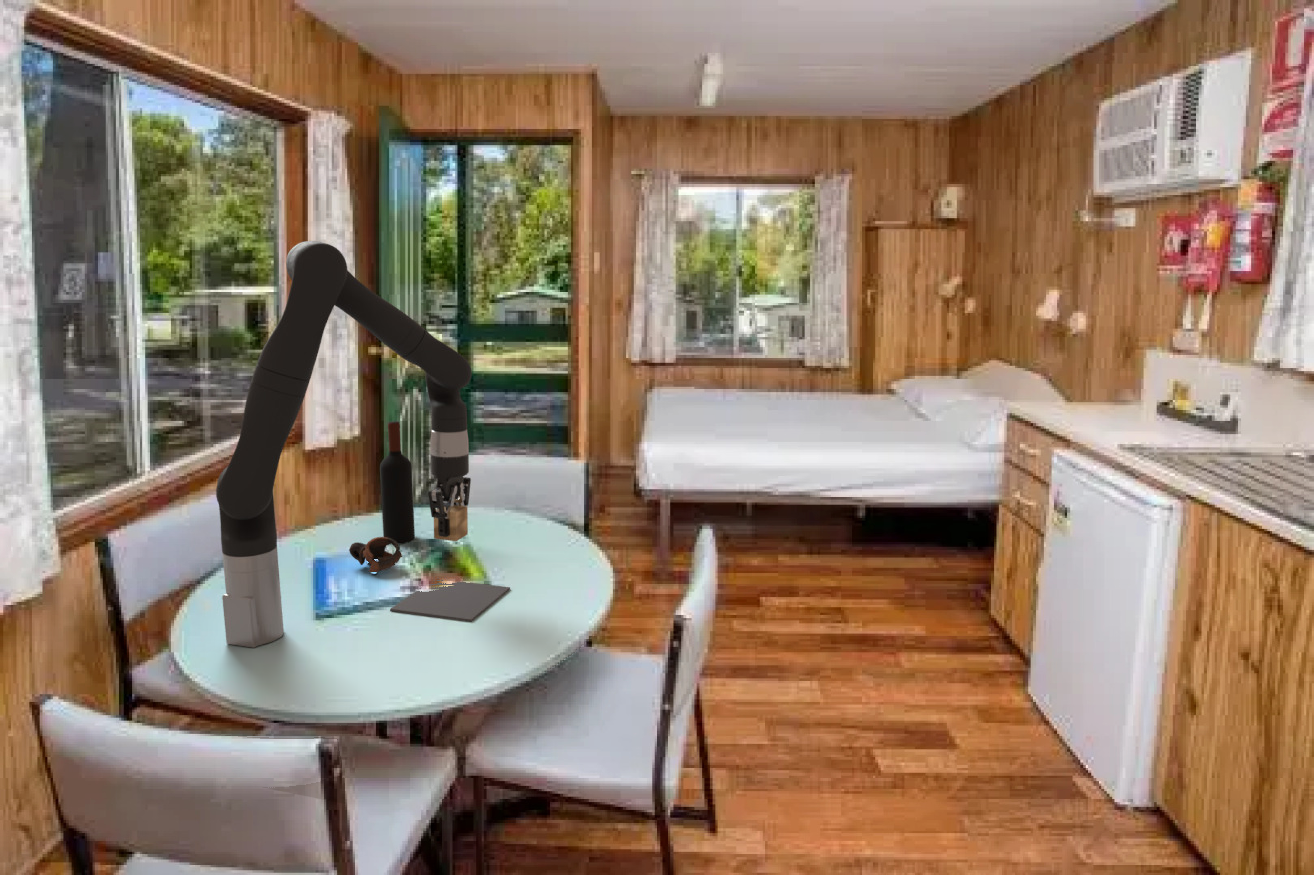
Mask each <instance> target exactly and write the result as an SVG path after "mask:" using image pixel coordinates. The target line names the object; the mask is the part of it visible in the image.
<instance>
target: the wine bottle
mask: <svg viewBox="0 0 1314 875" xmlns="http://www.w3.org/2000/svg"><path fill="white" fill-rule="evenodd" d="M400 429H401V424H400V421H399V420H398V421H397V420H393V421H387V431H388V435H387V436H388V455H387V456H386V457H384V458H383V459H382V461H380V464H379V473H380V475H379V479H380V496H381V514H382V518H381V519H382V532H383V533H382V534H383V536H382V537H387V538H391V539H393V540H395V541H396V542H397V543H398V545H400V544H402V545H403V544H407V543H406V542H408V543H410V542H413V541H414V540H415V537H416V536H415V535H416V534H415V531H416V530H415V514H414V512H415V509H414V491H413V490H414V489H413V488H414V486H413V470H412V469H413V467H412V466H413V465H412V462H411V461H410V460H409V458H408V457H407V456H405V455H404V454H403V453H402V448H401V447H402V446H401V430H400Z"/></svg>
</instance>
